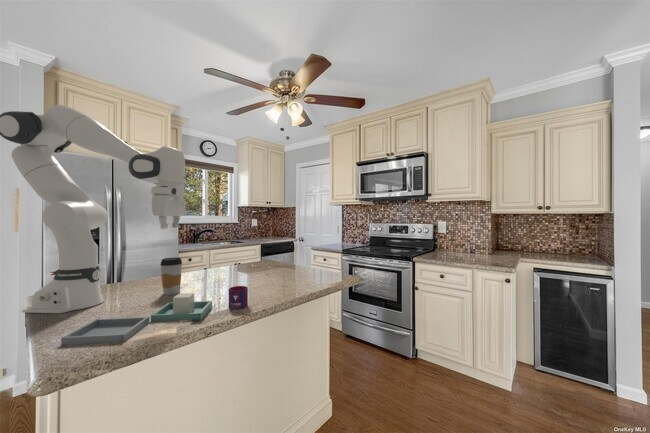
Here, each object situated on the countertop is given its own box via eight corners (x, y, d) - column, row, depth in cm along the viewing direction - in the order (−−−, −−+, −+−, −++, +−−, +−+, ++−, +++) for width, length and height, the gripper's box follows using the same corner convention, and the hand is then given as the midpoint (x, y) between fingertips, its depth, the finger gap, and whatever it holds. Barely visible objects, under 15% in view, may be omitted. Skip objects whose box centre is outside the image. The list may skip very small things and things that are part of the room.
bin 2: (150, 323, 87) (150, 315, 87) (168, 309, 100) (168, 302, 100) (201, 320, 89) (201, 313, 89) (212, 307, 102) (212, 300, 102)
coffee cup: (186, 290, 124) (186, 257, 124) (174, 296, 116) (174, 260, 115) (168, 290, 125) (168, 257, 125) (155, 295, 116) (155, 260, 116)
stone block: (173, 315, 92) (173, 297, 92) (179, 310, 96) (179, 293, 96) (189, 315, 92) (189, 297, 92) (194, 309, 97) (194, 292, 97)
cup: (226, 309, 99) (226, 290, 99) (234, 300, 109) (234, 283, 109) (245, 309, 100) (244, 290, 99) (251, 300, 110) (251, 283, 109)
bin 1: (61, 347, 71) (61, 338, 71) (96, 327, 84) (96, 319, 84) (124, 343, 73) (124, 334, 73) (149, 324, 86) (149, 316, 86)
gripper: (173, 193, 113) (172, 226, 113) (148, 188, 93) (146, 229, 93) (190, 193, 114) (188, 227, 114) (168, 188, 94) (166, 229, 94)
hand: (169, 228), depth 104 cm, fingers open, 8 cm apart
